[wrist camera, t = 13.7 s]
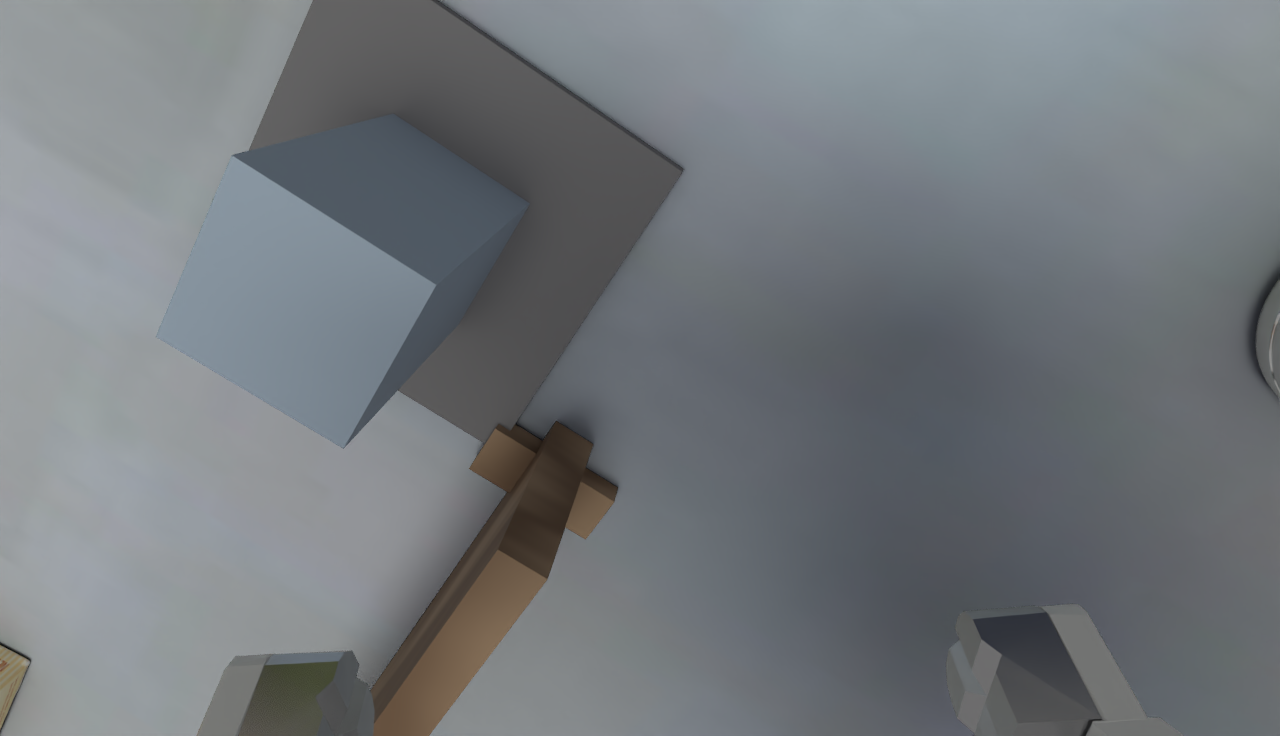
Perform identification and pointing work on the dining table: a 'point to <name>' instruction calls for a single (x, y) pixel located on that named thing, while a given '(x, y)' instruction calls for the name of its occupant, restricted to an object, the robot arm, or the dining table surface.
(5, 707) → the coffeecake box
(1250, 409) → the dining table surface
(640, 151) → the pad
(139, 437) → the dining table surface
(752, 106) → the dining table surface
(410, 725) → the screen
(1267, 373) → the water bottle
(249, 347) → the letter block
